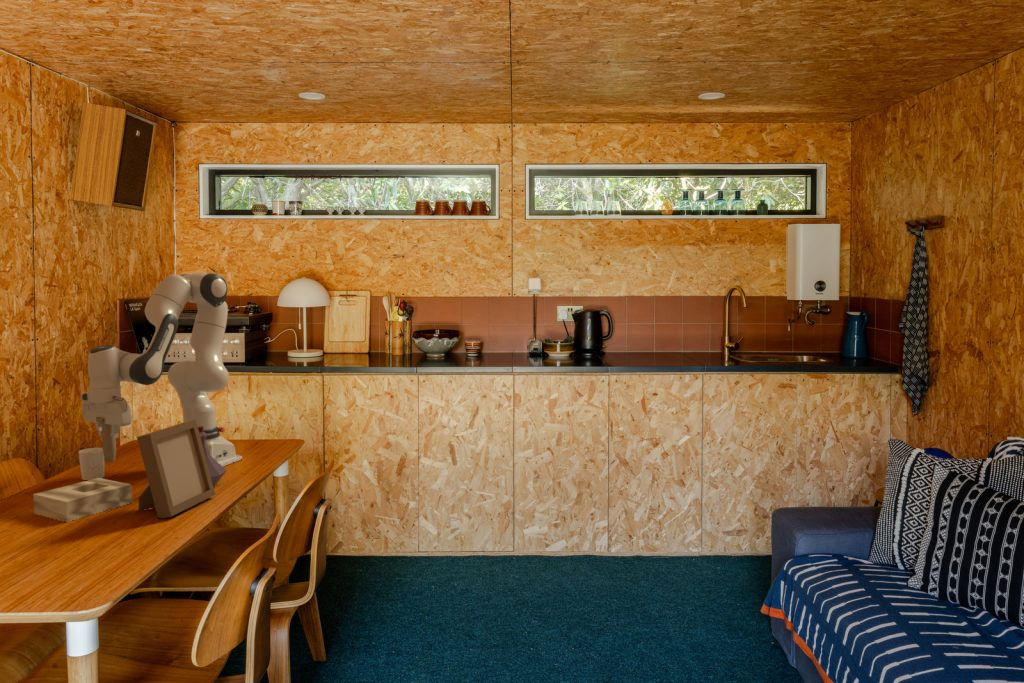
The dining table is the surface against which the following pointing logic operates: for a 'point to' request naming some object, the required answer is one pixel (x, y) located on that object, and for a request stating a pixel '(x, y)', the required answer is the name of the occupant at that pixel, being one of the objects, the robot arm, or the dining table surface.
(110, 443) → the handle
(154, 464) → the photo frame
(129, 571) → the dining table surface
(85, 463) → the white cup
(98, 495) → the socket block
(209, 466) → the flask
